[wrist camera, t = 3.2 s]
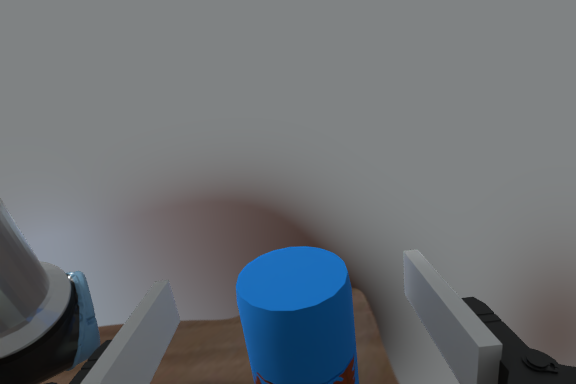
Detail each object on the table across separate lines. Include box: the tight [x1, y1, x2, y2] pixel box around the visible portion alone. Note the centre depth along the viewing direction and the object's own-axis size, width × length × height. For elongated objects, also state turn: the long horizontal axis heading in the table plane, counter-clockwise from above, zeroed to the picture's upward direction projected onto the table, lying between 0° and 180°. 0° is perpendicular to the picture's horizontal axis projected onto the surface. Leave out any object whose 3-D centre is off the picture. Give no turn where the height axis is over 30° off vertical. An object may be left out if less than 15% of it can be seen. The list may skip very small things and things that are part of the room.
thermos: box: [236, 246, 359, 384], centre depth 32 cm, size 11×11×25 cm
